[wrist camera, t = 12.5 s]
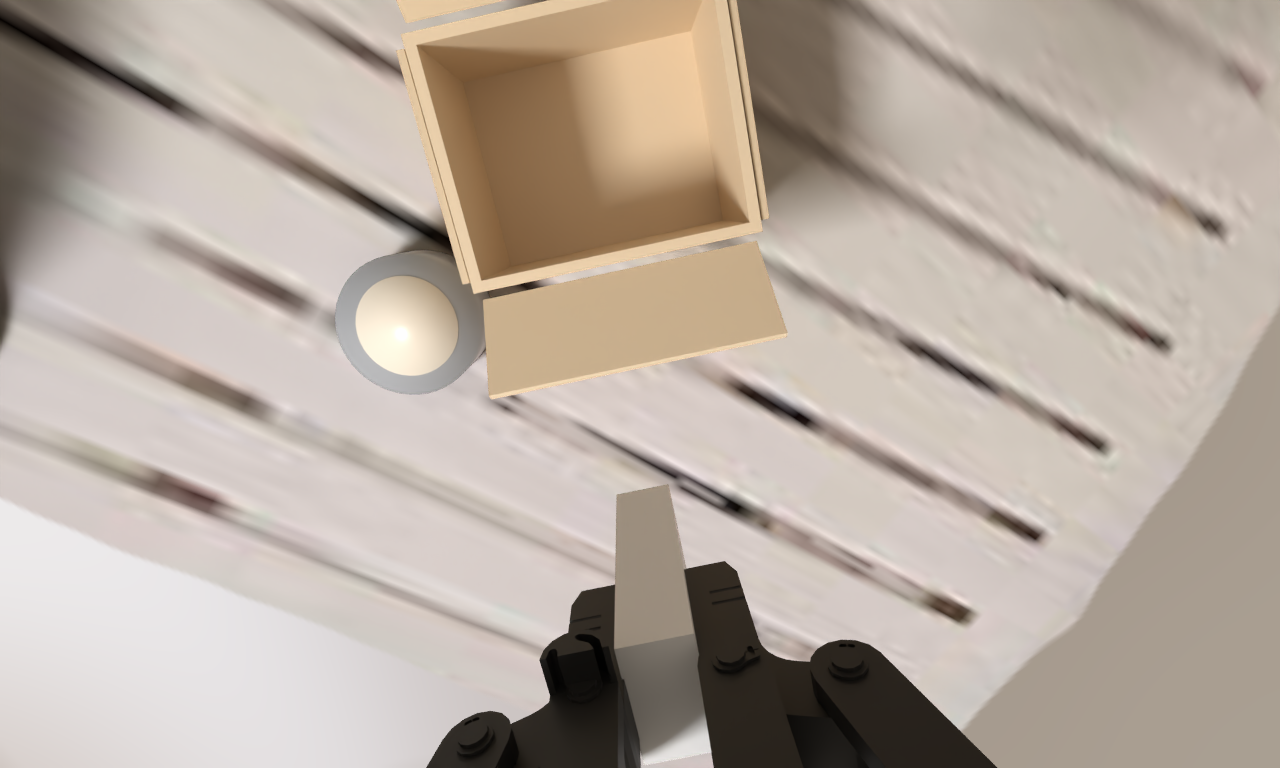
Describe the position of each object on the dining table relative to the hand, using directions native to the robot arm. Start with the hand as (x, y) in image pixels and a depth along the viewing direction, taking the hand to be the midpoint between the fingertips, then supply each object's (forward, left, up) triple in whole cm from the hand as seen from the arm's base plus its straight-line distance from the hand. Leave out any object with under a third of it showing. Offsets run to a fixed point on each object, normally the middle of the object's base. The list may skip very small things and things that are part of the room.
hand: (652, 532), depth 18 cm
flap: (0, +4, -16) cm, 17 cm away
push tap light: (-14, +5, -28) cm, 32 cm away
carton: (0, +13, -28) cm, 31 cm away
